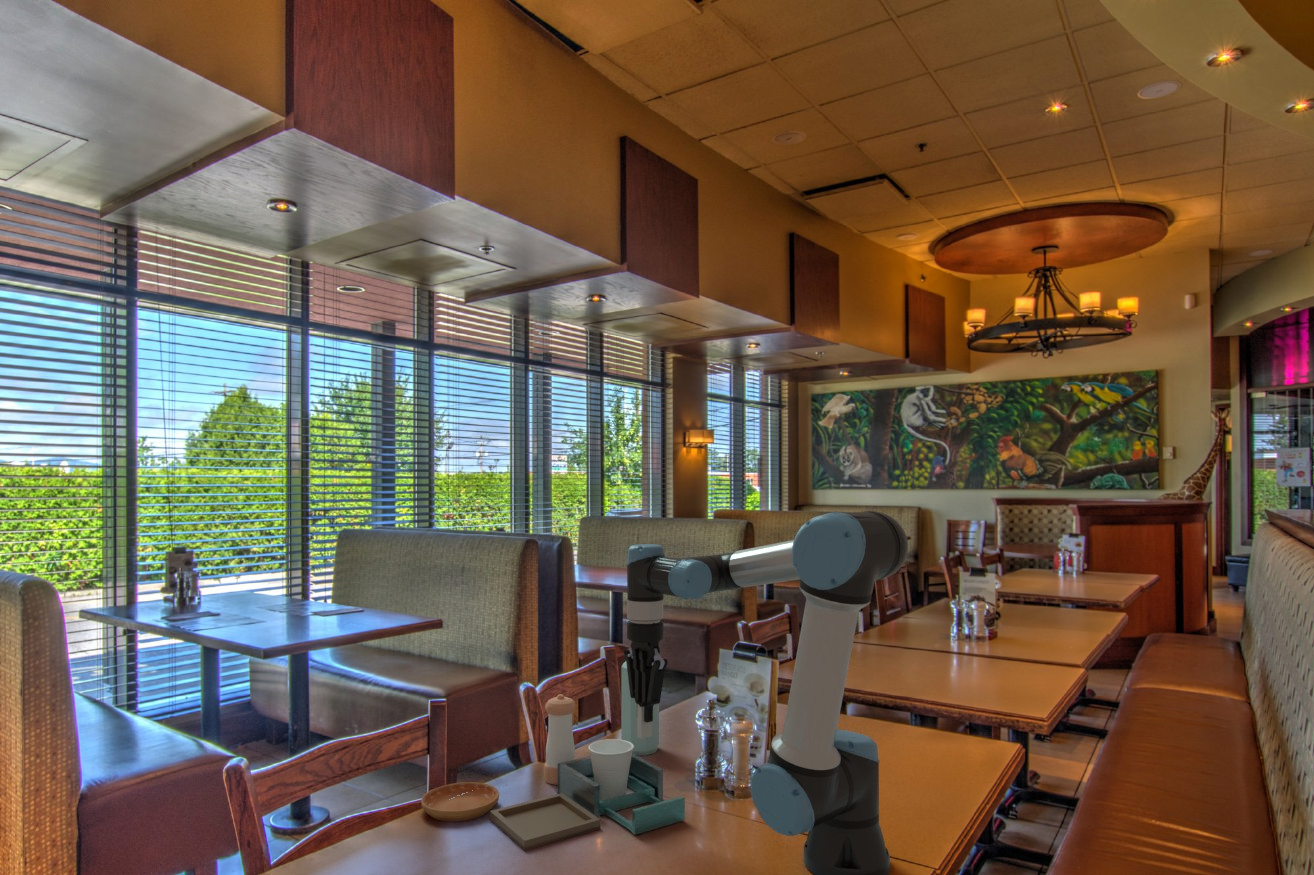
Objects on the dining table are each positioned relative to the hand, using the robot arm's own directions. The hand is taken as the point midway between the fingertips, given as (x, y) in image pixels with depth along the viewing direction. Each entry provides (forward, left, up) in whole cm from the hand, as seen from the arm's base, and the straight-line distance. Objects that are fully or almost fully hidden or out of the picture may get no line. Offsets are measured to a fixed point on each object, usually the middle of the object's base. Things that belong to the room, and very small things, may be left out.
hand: (644, 736), depth 166 cm
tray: (+9, +18, -17) cm, 26 cm away
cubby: (+13, 0, -17) cm, 21 cm away
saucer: (+26, +29, -17) cm, 43 cm away
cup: (+13, 0, -17) cm, 21 cm away
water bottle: (+35, -22, -17) cm, 45 cm away
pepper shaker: (+29, +4, -17) cm, 34 cm away
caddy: (+7, 0, -16) cm, 18 cm away
